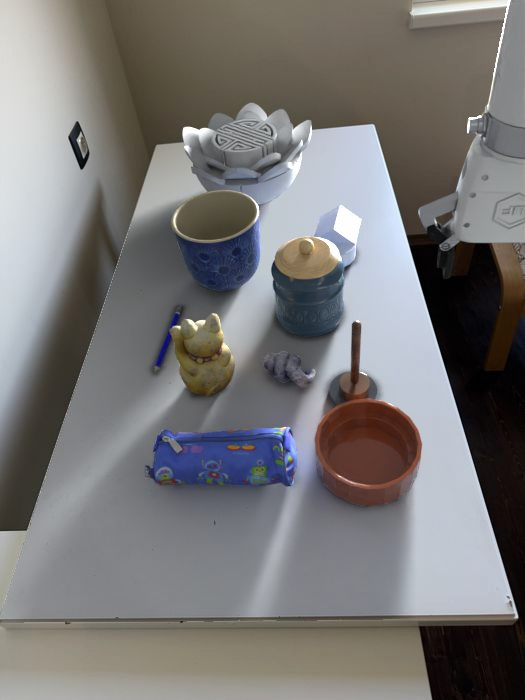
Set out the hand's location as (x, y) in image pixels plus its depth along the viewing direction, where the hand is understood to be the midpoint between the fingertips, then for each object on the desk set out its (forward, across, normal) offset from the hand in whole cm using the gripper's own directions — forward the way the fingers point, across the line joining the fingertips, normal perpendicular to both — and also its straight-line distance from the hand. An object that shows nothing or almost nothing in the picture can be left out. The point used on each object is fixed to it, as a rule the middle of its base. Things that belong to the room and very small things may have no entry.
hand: (488, 270), depth 64 cm
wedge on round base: (+32, -19, +44) cm, 58 cm away
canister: (+32, -23, +25) cm, 47 cm away
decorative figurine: (+32, -40, +7) cm, 52 cm away
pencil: (+33, -50, +18) cm, 62 cm away
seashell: (+32, -26, +9) cm, 43 cm away
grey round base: (+32, -15, +6) cm, 36 cm away
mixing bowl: (+32, -13, -7) cm, 35 cm away
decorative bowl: (+32, -41, +66) cm, 85 cm away
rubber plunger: (+32, -15, +6) cm, 36 cm away
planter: (+32, -42, +36) cm, 64 cm away
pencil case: (+32, -34, -10) cm, 48 cm away
